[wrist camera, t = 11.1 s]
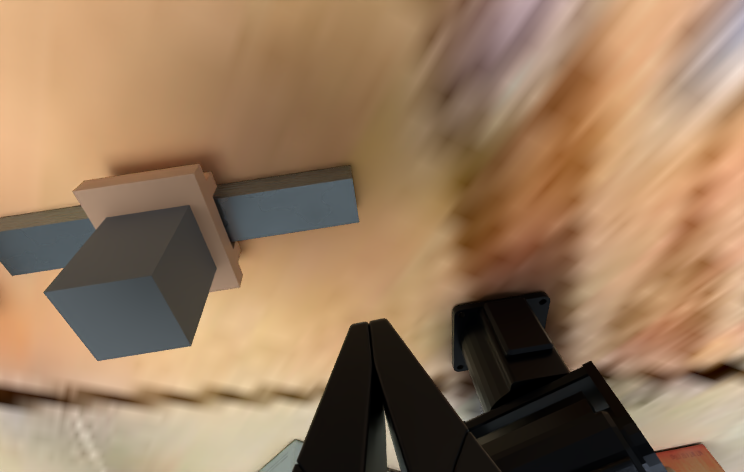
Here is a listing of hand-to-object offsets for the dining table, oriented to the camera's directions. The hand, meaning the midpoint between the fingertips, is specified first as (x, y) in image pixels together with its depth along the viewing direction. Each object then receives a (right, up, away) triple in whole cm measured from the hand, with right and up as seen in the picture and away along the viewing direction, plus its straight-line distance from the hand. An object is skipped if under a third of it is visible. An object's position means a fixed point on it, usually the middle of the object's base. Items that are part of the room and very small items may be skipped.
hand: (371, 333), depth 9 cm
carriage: (-10, +3, +11) cm, 15 cm away
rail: (-10, +3, +11) cm, 15 cm away
